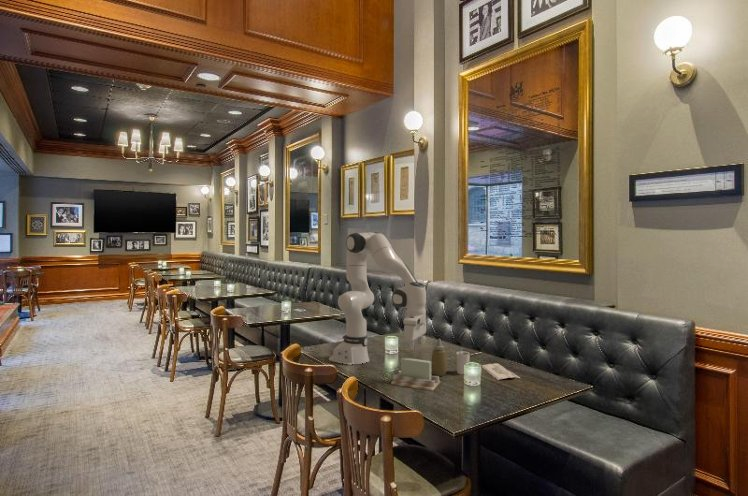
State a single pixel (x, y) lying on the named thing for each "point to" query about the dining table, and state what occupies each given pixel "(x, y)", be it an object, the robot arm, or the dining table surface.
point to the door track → (416, 382)
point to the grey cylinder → (462, 361)
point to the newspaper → (499, 371)
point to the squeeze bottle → (439, 360)
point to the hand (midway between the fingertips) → (415, 346)
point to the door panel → (416, 368)
